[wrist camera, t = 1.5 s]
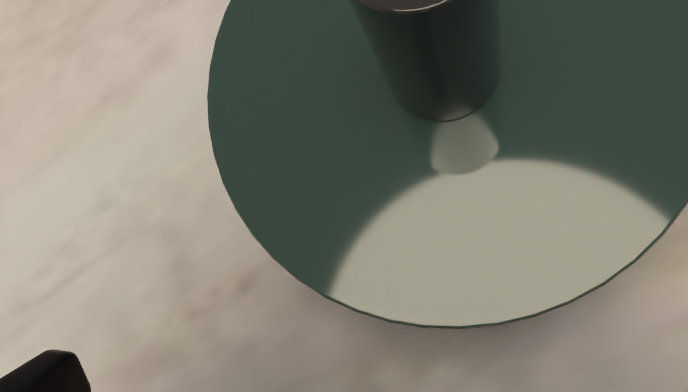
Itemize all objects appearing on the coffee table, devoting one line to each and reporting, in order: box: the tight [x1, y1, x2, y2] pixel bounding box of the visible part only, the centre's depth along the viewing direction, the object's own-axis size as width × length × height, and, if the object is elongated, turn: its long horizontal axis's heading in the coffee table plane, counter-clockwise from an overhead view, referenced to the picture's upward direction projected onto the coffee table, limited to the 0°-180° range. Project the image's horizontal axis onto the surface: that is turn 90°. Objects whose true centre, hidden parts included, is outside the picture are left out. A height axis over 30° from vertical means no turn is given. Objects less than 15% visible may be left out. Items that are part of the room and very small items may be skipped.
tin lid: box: [207, 0, 688, 329], centre depth 15 cm, size 14×14×7 cm
